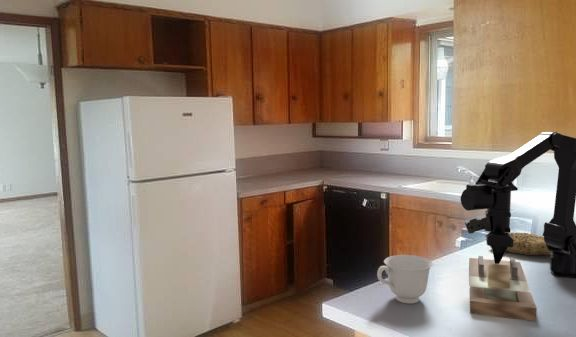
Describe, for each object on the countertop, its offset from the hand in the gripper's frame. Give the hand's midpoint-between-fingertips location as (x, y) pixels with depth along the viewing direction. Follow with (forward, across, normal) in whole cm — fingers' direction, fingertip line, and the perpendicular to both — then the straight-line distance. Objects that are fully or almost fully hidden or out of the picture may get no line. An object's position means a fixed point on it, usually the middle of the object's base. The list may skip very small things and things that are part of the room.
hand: (496, 263), depth 129 cm
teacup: (+6, +19, -23) cm, 30 cm away
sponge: (+6, -35, +10) cm, 37 cm away
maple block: (+3, +8, 0) cm, 9 cm away
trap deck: (+6, +4, 0) cm, 7 cm away
